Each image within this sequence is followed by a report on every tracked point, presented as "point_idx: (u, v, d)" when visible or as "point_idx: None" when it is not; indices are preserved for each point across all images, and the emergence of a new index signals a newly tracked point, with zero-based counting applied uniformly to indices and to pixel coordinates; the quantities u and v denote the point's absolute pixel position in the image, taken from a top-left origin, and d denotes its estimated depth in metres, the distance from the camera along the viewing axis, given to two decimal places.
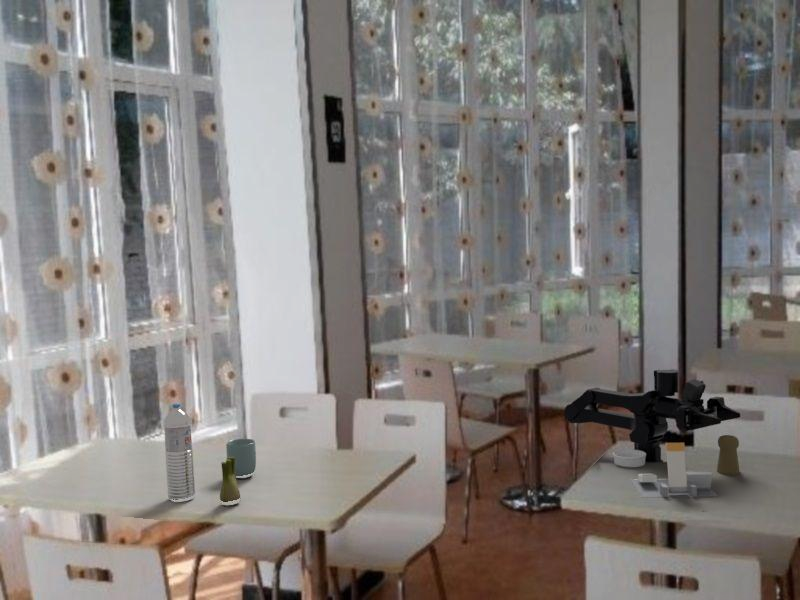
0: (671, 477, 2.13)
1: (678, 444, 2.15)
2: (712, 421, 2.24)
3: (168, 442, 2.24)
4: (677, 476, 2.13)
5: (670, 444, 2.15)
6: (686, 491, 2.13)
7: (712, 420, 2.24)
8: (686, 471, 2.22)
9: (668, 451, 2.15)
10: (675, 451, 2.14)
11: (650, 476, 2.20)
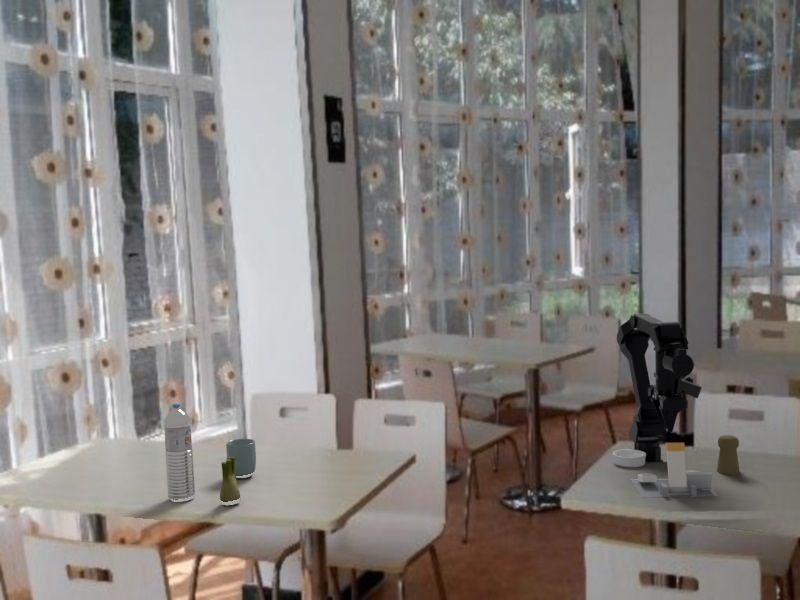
0: (671, 477, 2.13)
1: (678, 444, 2.15)
2: (670, 425, 2.28)
3: (168, 442, 2.24)
4: (677, 476, 2.13)
5: (670, 444, 2.15)
6: (686, 491, 2.13)
7: (671, 425, 2.27)
8: (686, 471, 2.22)
9: (668, 451, 2.15)
10: (675, 451, 2.14)
11: (650, 476, 2.20)
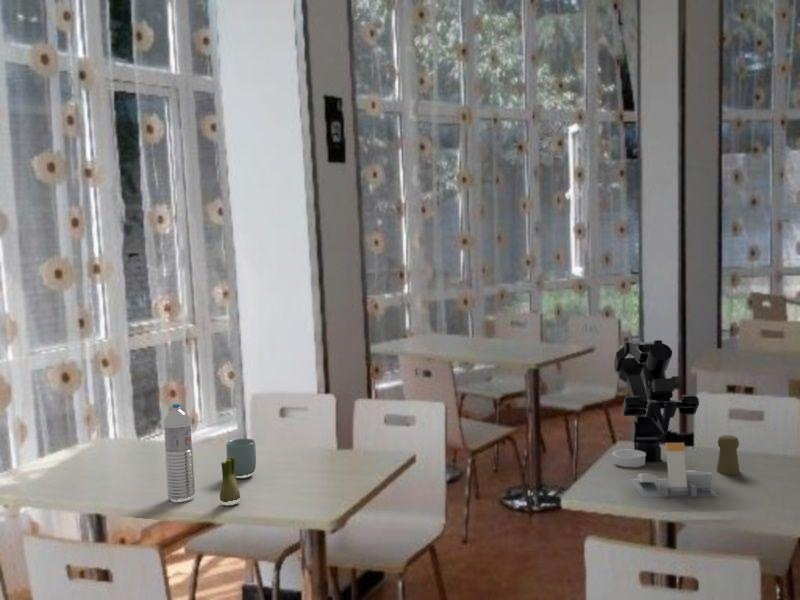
0: (671, 477, 2.13)
1: (678, 444, 2.15)
2: (661, 427, 2.26)
3: (168, 442, 2.24)
4: (677, 476, 2.13)
5: (670, 444, 2.15)
6: (686, 491, 2.13)
7: (660, 427, 2.26)
8: (686, 471, 2.22)
9: (668, 451, 2.15)
10: (675, 451, 2.14)
11: (650, 476, 2.20)
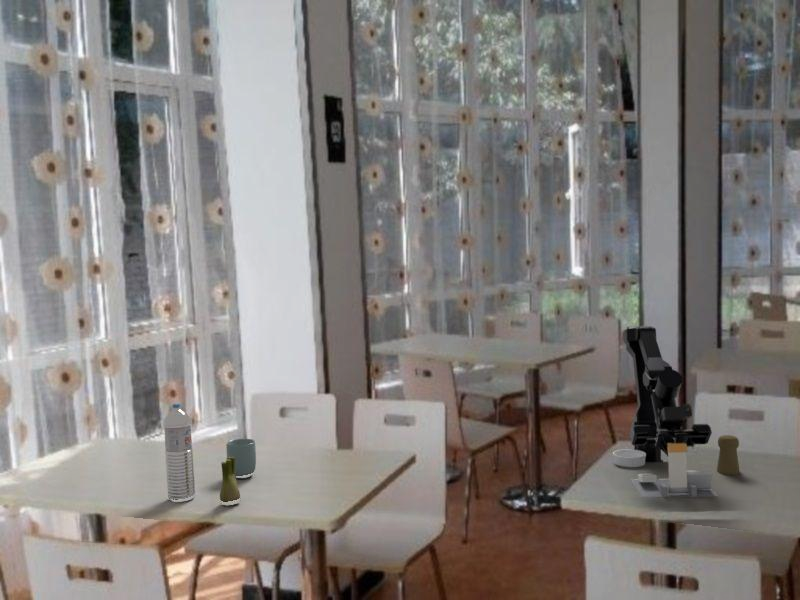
0: (671, 478, 2.13)
1: (680, 445, 2.12)
2: None
3: (168, 442, 2.24)
4: (678, 477, 2.13)
5: (672, 445, 2.13)
6: (686, 492, 2.13)
7: None
8: None
9: (670, 452, 2.13)
10: (677, 452, 2.13)
11: (650, 476, 2.20)
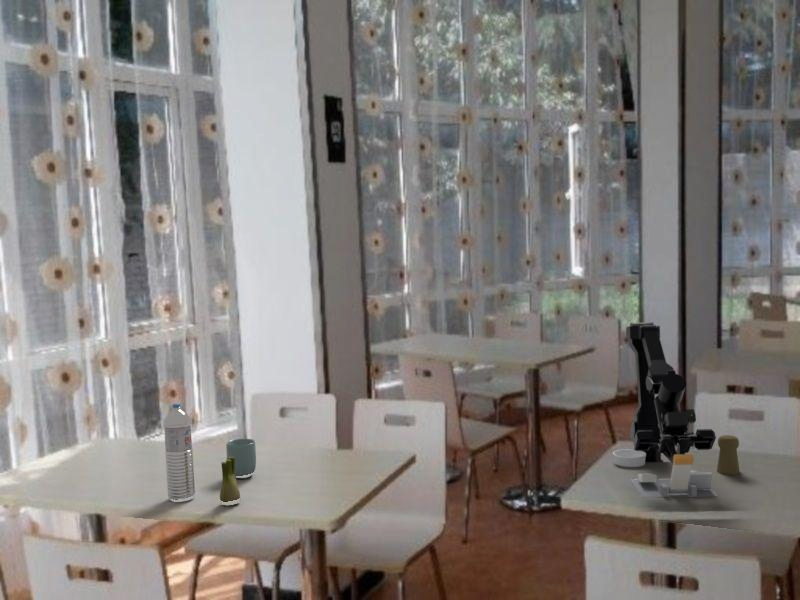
0: (673, 482, 2.11)
1: (687, 459, 2.07)
2: None
3: (168, 442, 2.24)
4: (679, 482, 2.11)
5: (678, 459, 2.07)
6: None
7: None
8: None
9: (675, 464, 2.08)
10: (682, 464, 2.08)
11: (650, 476, 2.20)
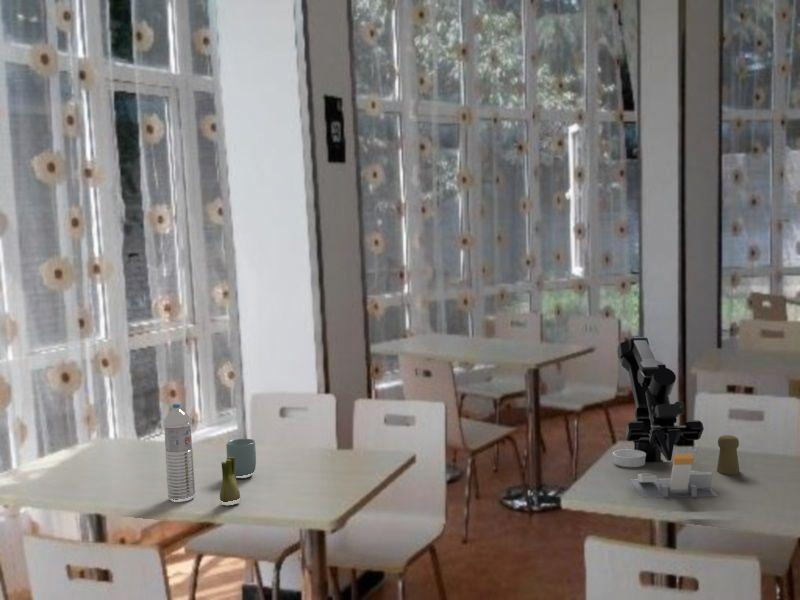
0: (673, 482, 2.11)
1: (687, 459, 2.07)
2: (665, 453, 2.23)
3: (168, 442, 2.24)
4: (679, 482, 2.11)
5: (678, 459, 2.07)
6: None
7: (664, 453, 2.22)
8: None
9: (675, 464, 2.08)
10: (682, 464, 2.08)
11: (650, 476, 2.20)
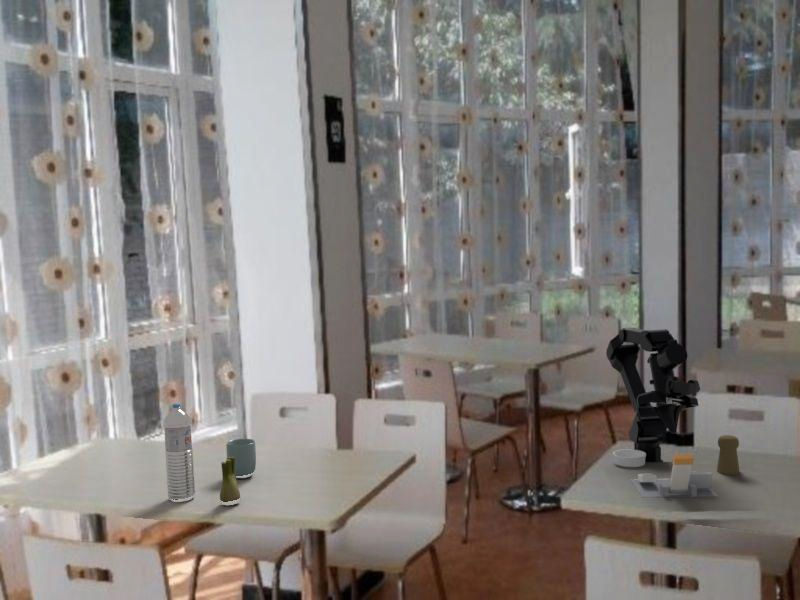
0: (673, 482, 2.11)
1: (687, 459, 2.07)
2: (670, 425, 2.29)
3: (168, 442, 2.24)
4: (679, 482, 2.11)
5: (678, 459, 2.07)
6: None
7: (670, 426, 2.29)
8: None
9: (675, 464, 2.08)
10: (682, 464, 2.08)
11: (650, 476, 2.20)
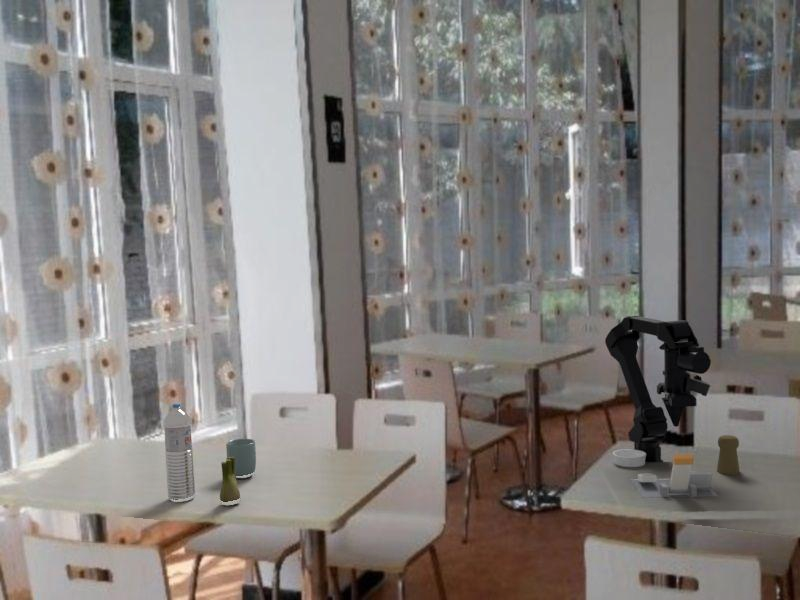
0: (673, 482, 2.11)
1: (687, 459, 2.07)
2: (676, 419, 2.33)
3: (168, 442, 2.24)
4: (679, 482, 2.11)
5: (678, 459, 2.07)
6: None
7: (677, 420, 2.33)
8: None
9: (675, 464, 2.08)
10: (682, 464, 2.08)
11: (650, 476, 2.20)
